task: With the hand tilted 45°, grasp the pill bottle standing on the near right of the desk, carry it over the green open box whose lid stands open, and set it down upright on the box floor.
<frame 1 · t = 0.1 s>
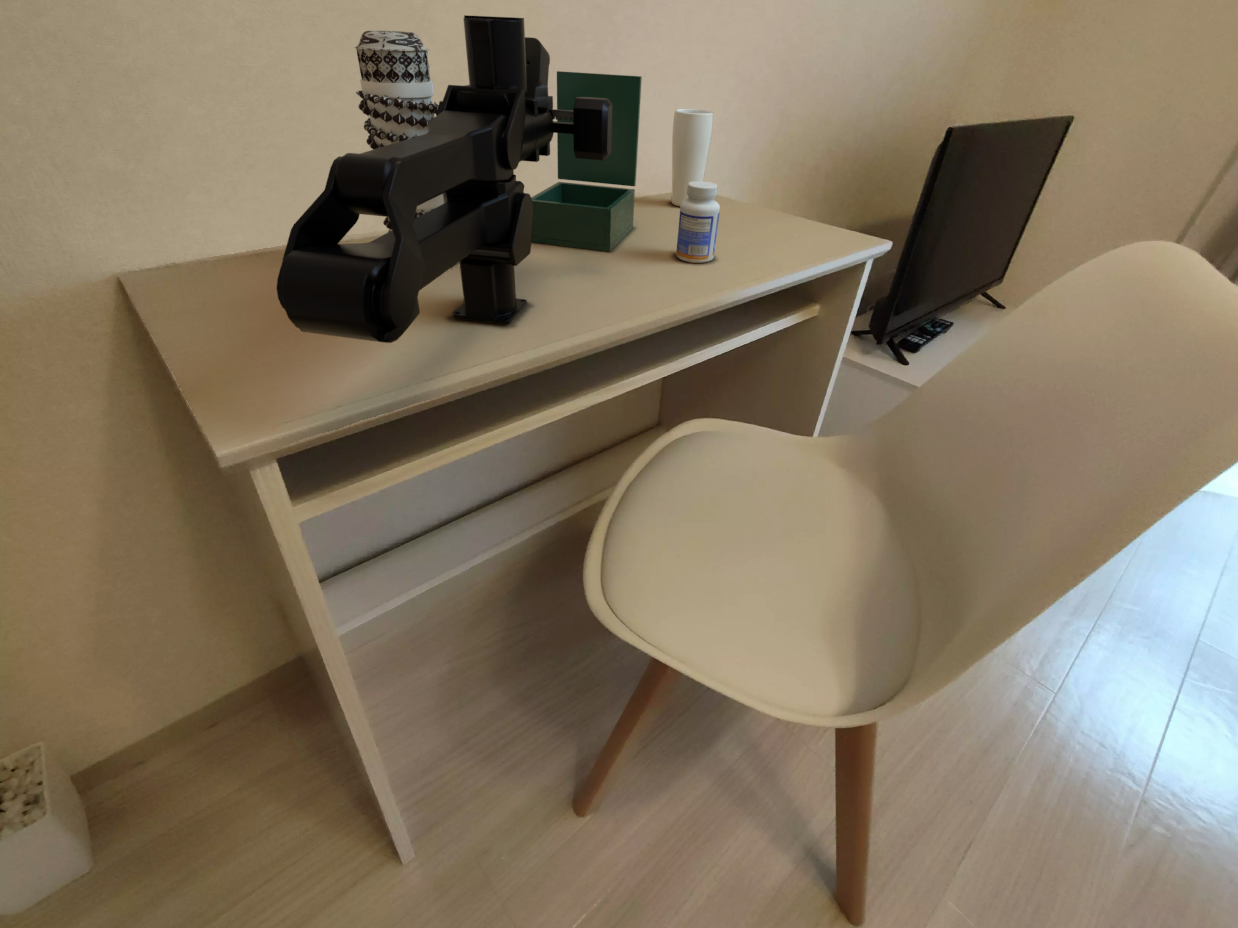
hand: (553, 117, 79), 17 cm above the table, tool horizontal, fingers open, 9 cm apart
green open box: (582, 234, 94), on the table
pill bottle: (694, 259, 87), on the table
white tumbler: (685, 206, 112), on the table
green box lid: (600, 129, 93), point 13 cm above the table, hinge at 92.0°
black and white cylinder: (424, 262, 81), on the table
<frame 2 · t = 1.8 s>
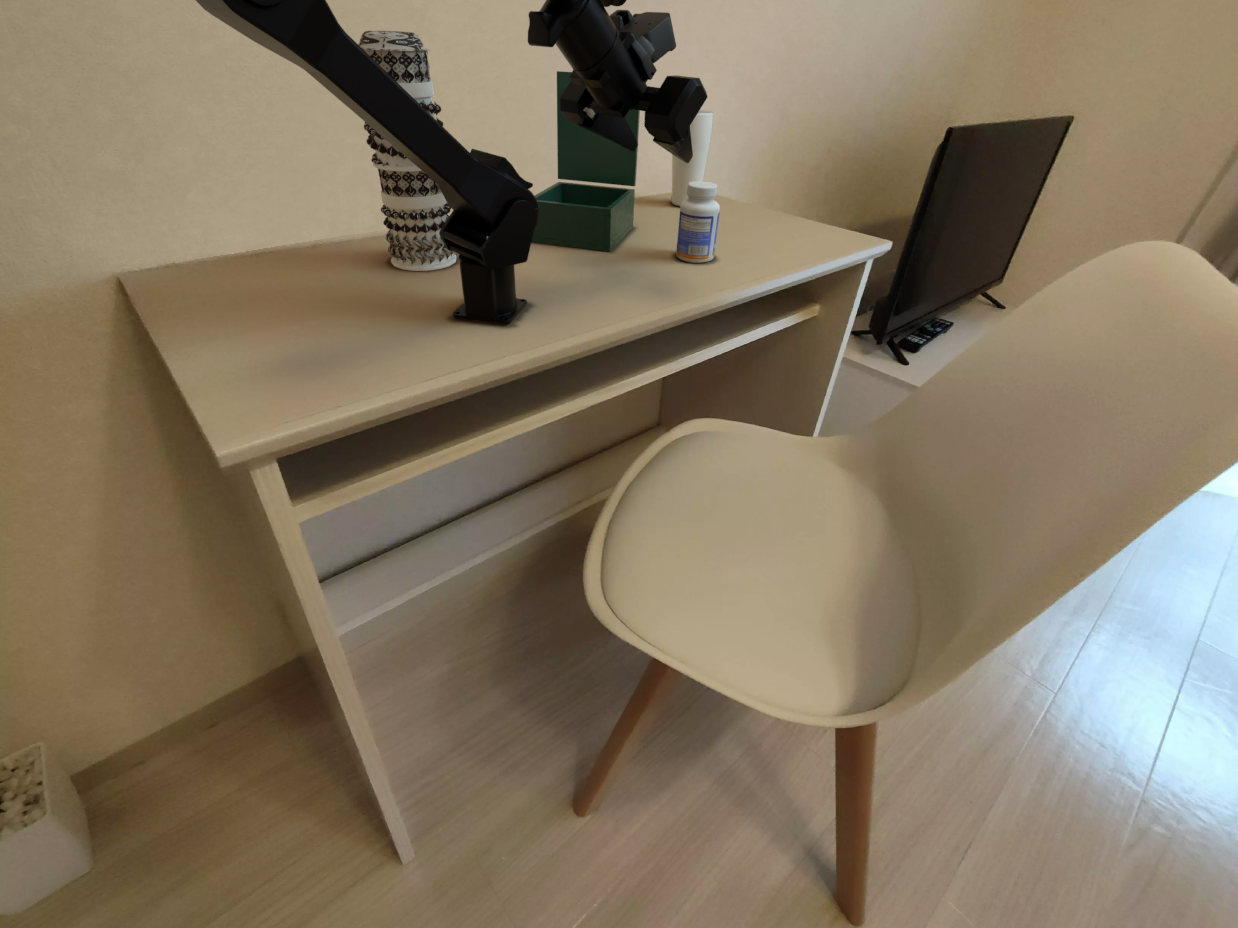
hand: (661, 153, 75), 14 cm above the table, tool tilted 45°, fingers open, 9 cm apart
nothing on the table moved.
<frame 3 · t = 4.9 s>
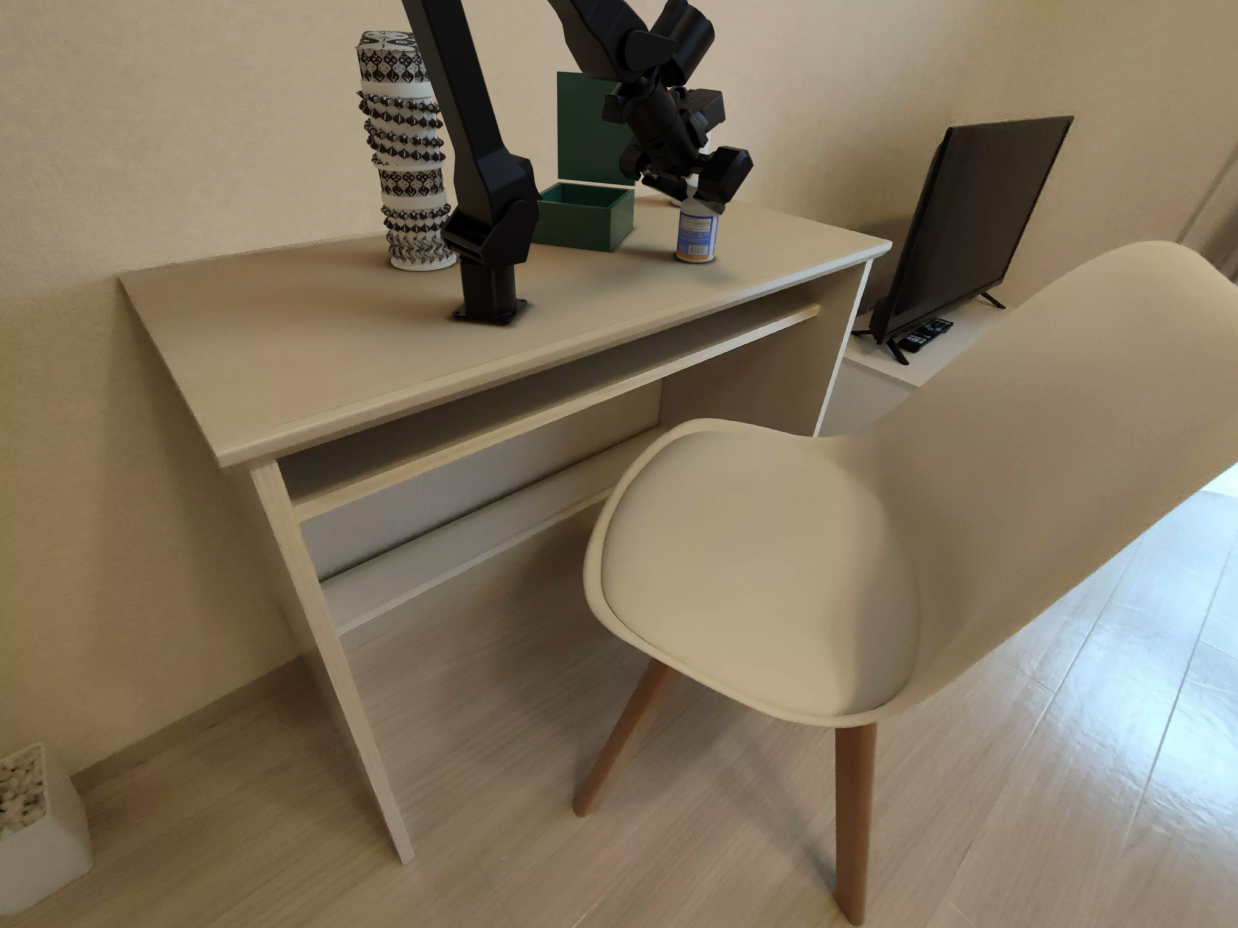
hand: (706, 207, 84), 7 cm above the table, tool tilted 45°, fingers closed on pill bottle, 5 cm apart
pill bottle: (694, 259, 87), on the table, touching gripper
everything else where it was.
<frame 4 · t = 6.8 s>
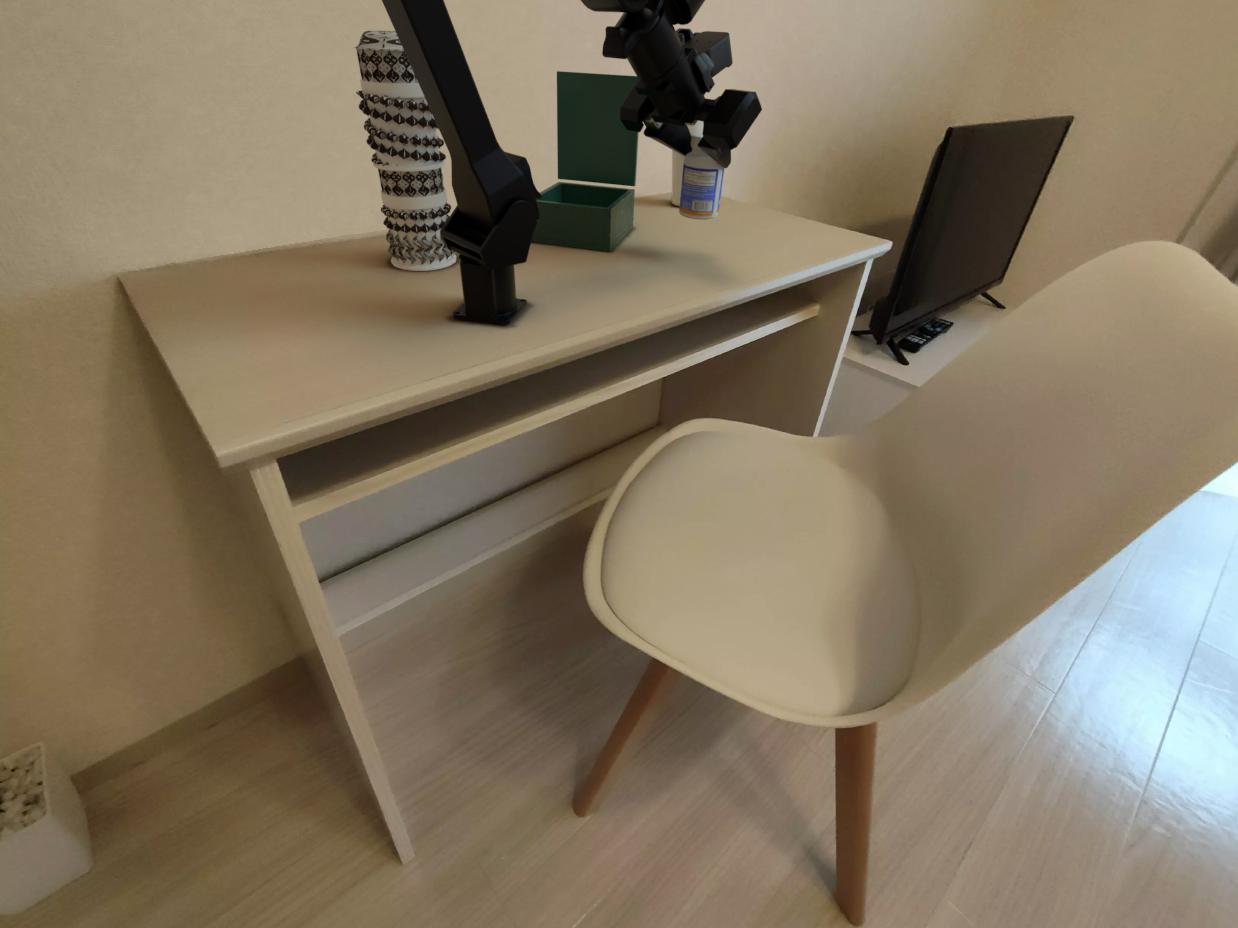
hand: (711, 161, 80), 12 cm above the table, tool tilted 45°, fingers closed on pill bottle, 5 cm apart
pill bottle: (698, 217, 83), point 6 cm above the table, touching gripper
everything else where it was.
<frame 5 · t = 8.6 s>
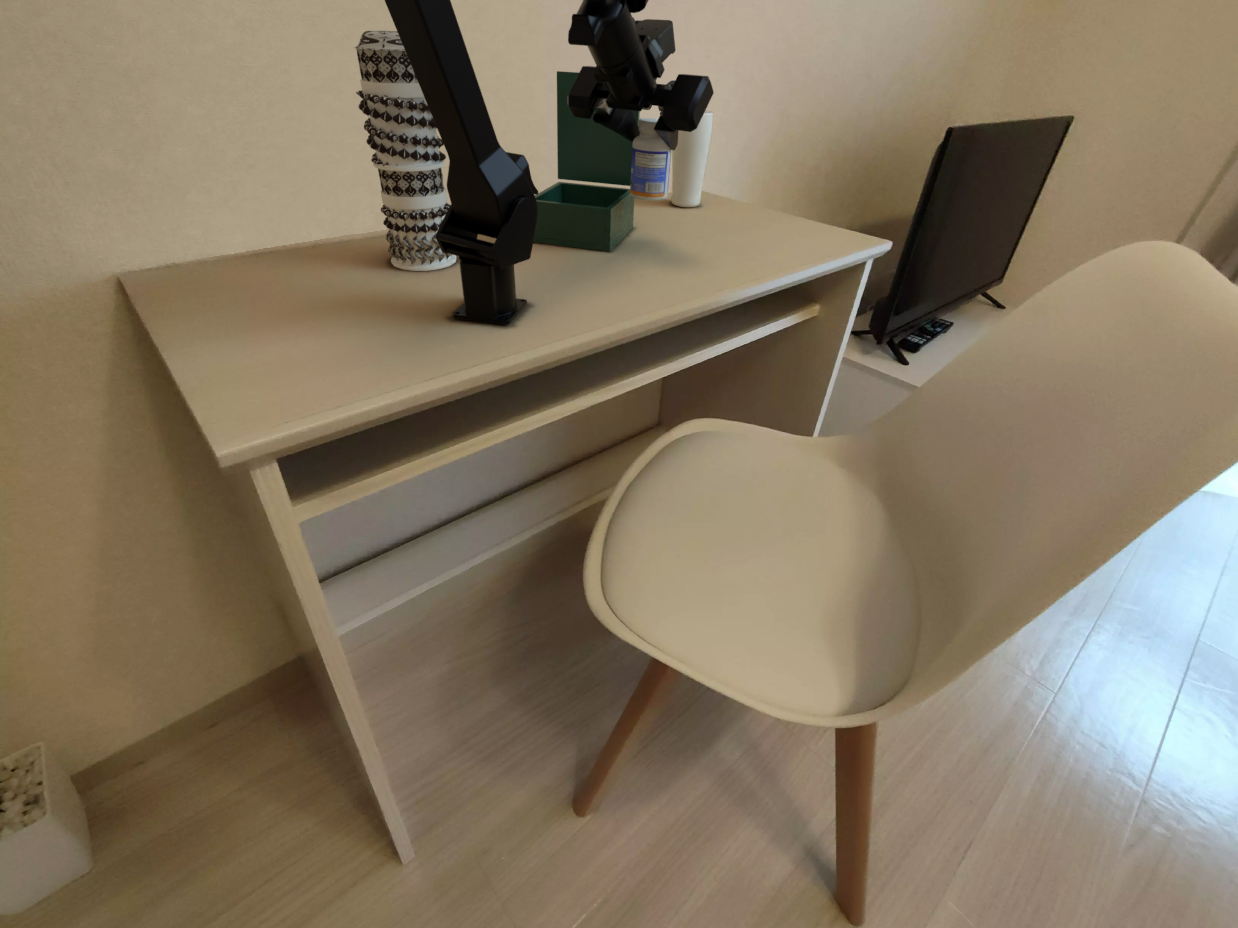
hand: (657, 145, 84), 13 cm above the table, tool tilted 45°, fingers closed on pill bottle, 5 cm apart
pill bottle: (648, 198, 87), point 6 cm above the table, touching gripper
everything else where it was.
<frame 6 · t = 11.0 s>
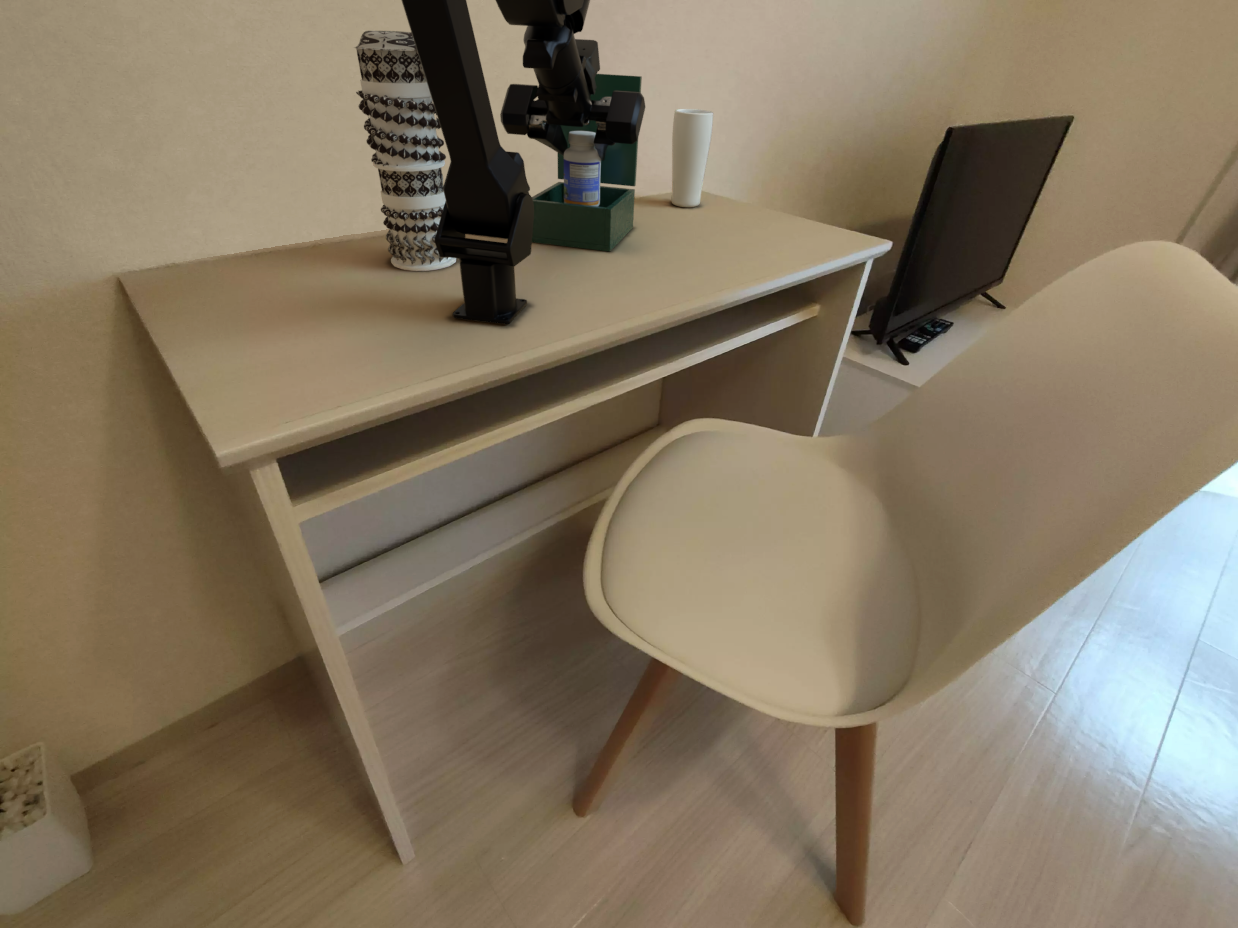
hand: (585, 156, 89), 11 cm above the table, tool tilted 45°, fingers closed on pill bottle, 5 cm apart
pill bottle: (582, 207, 91), point 4 cm above the table, touching gripper
everything else where it was.
when the fingers open (7 cm above the table, at t = 12.5 s): pill bottle stays where it is, resting on green open box.
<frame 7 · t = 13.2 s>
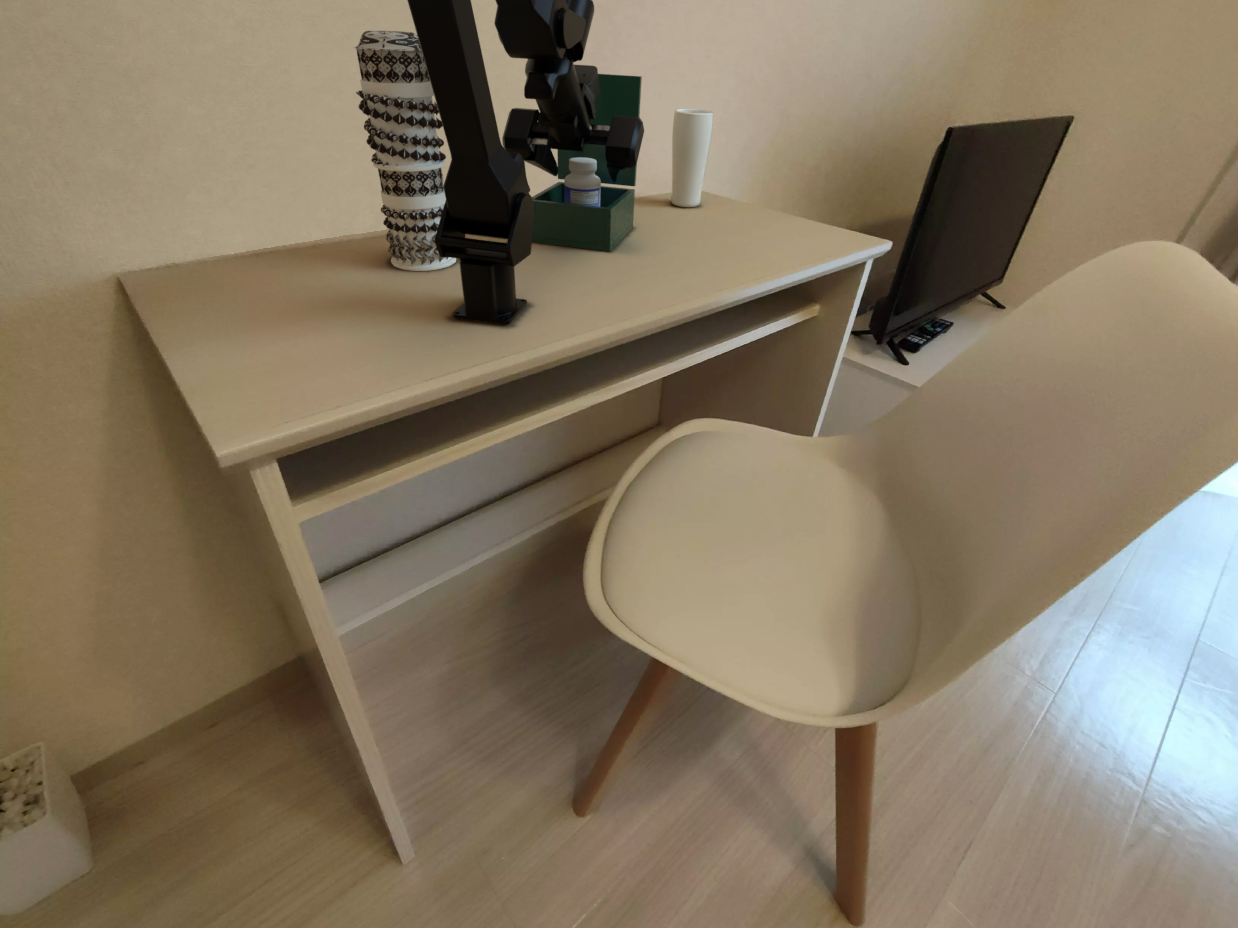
hand: (585, 176, 90), 8 cm above the table, tool tilted 45°, fingers open, 9 cm apart
pill bottle: (582, 230, 94), point 1 cm above the table, touching green open box
everything else where it was.
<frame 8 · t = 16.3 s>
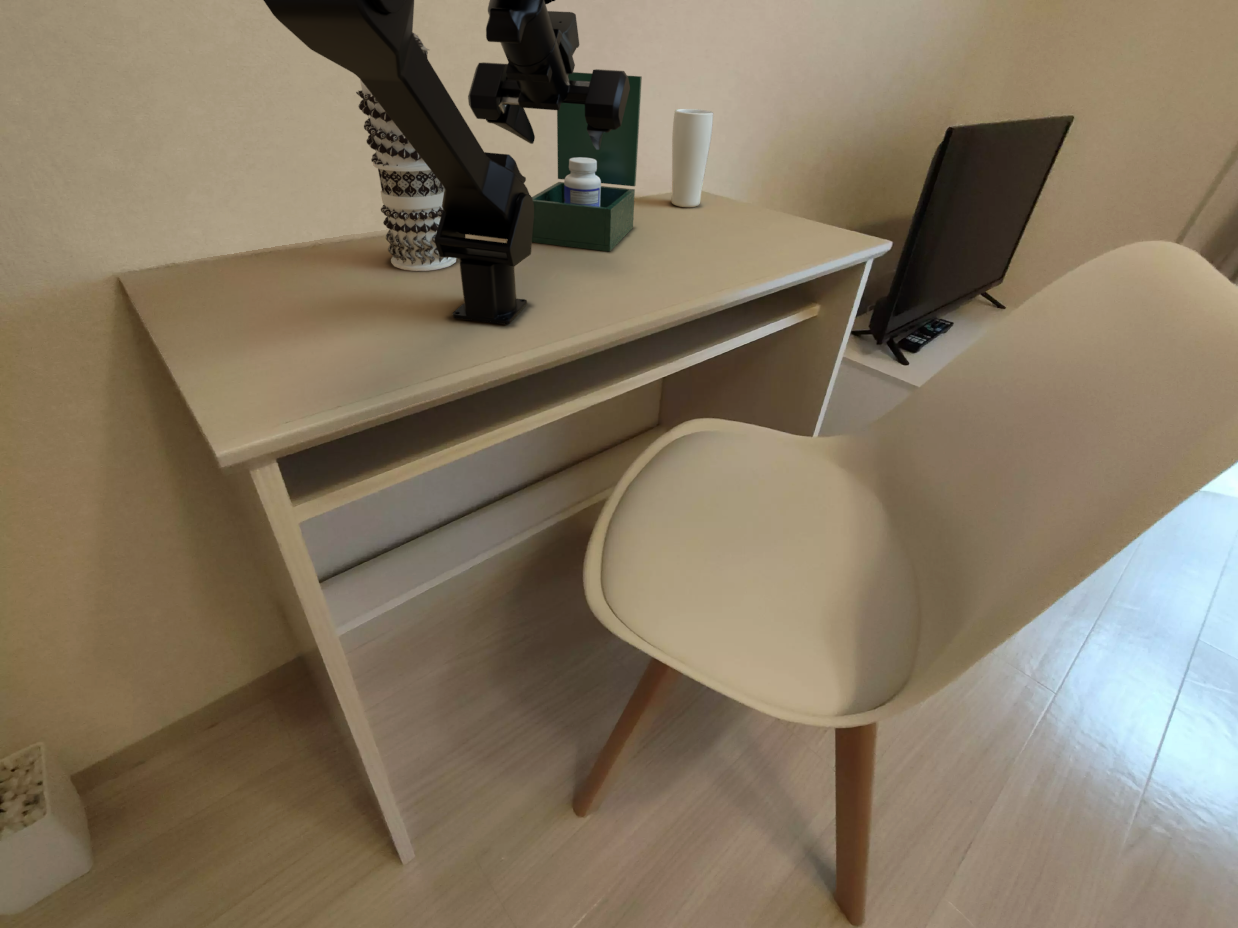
hand: (565, 143, 80), 14 cm above the table, tool tilted 45°, fingers open, 9 cm apart
nothing on the table moved.
at the end: pill bottle inside the target area in the green open box (0.2 cm from its centre), point 0.6 cm above the green open box's base; pill bottle tilted 0°; the gripper is holding nothing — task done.
